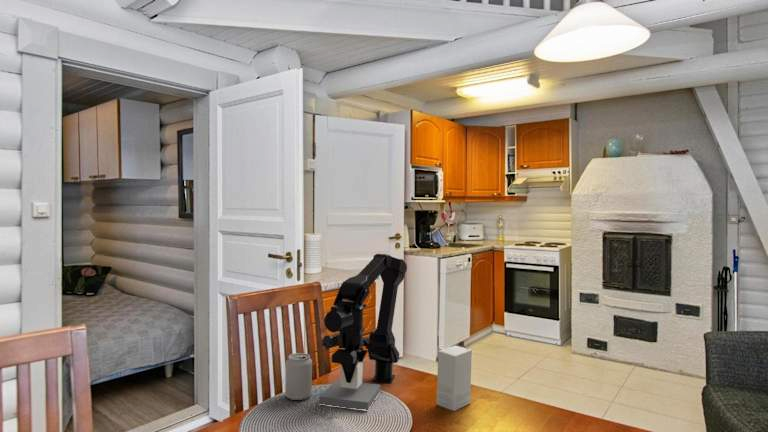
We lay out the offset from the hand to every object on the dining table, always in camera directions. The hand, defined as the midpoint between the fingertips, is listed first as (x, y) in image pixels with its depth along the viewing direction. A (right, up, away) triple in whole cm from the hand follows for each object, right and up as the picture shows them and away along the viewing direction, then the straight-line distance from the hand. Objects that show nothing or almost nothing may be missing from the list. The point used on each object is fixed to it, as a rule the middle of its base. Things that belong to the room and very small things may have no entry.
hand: (351, 379), depth 133 cm
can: (-15, -6, +1) cm, 16 cm away
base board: (0, -6, 0) cm, 6 cm away
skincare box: (+29, -7, -2) cm, 30 cm away
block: (0, -2, 0) cm, 2 cm away
